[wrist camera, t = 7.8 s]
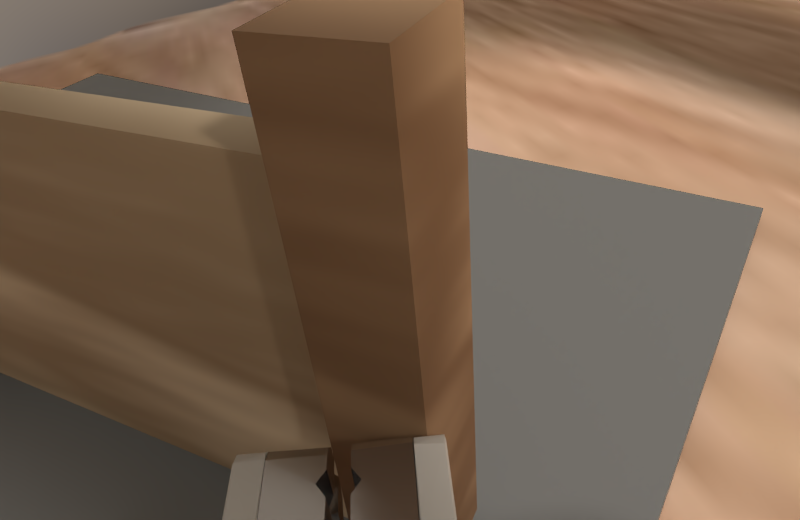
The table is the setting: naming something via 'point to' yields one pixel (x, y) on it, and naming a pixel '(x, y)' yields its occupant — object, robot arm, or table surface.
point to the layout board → (475, 355)
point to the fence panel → (257, 244)
